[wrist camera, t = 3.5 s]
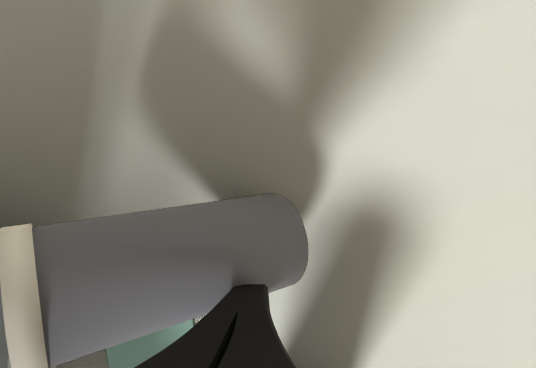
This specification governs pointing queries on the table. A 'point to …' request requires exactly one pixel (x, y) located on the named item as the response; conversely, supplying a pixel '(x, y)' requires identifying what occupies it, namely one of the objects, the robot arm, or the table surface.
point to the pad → (145, 346)
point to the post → (138, 272)
